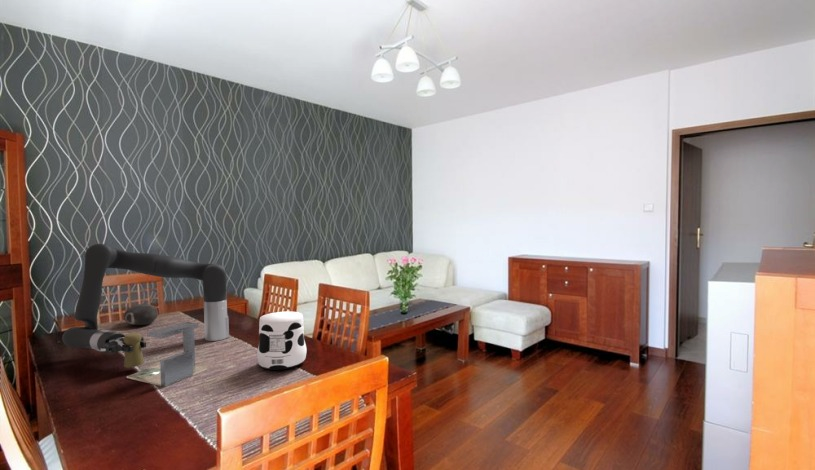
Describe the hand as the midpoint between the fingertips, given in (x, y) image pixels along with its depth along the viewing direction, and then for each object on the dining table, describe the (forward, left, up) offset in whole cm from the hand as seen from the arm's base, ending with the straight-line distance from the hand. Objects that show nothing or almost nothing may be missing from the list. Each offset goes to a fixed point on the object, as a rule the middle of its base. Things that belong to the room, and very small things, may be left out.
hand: (138, 347), depth 140 cm
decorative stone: (-5, -75, -9) cm, 76 cm away
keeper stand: (-8, +8, -9) cm, 14 cm away
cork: (+1, -2, -7) cm, 7 cm away
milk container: (-42, +25, -9) cm, 50 cm away
